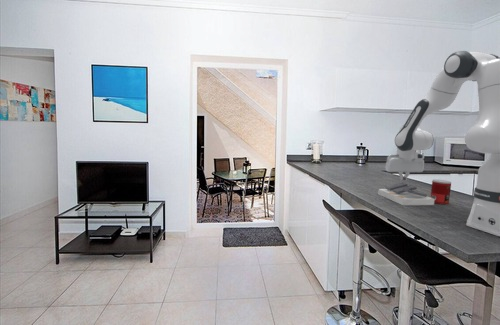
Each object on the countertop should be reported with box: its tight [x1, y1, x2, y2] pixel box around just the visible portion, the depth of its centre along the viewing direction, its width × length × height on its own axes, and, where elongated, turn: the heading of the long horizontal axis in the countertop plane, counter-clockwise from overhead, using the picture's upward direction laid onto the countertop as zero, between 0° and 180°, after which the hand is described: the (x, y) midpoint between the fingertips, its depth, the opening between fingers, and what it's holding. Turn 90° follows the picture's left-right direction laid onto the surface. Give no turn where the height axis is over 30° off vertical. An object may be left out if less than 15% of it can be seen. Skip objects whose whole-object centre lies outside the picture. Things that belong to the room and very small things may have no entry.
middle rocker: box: [393, 184, 417, 194], centre depth 149 cm, size 4×10×1 cm, turn 96°
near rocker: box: [403, 188, 428, 197], centre depth 142 cm, size 4×10×1 cm, turn 96°
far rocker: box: [384, 182, 409, 191], centre depth 156 cm, size 4×10×1 cm, turn 96°
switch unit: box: [377, 188, 435, 206], centre depth 150 cm, size 22×16×3 cm
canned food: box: [430, 179, 452, 205], centre depth 145 cm, size 8×8×11 cm
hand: (403, 180), depth 156 cm, fingers closed
